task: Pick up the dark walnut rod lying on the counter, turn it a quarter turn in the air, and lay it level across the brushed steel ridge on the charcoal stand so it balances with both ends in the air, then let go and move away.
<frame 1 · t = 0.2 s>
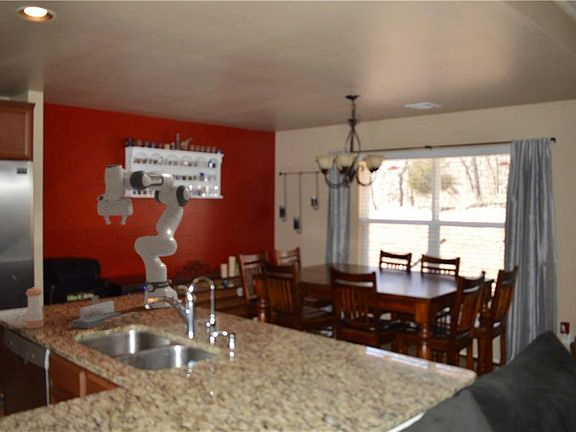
hand: (115, 224, 277), 47 cm above the countertop, tool pointing down, fingers open, 8 cm apart
flask: (95, 315, 287), on the countertop
pepper shaker: (35, 327, 264), on the countertop
ridge stand: (97, 322, 269), on the countertop
walnut rod: (121, 324, 266), on the countertop
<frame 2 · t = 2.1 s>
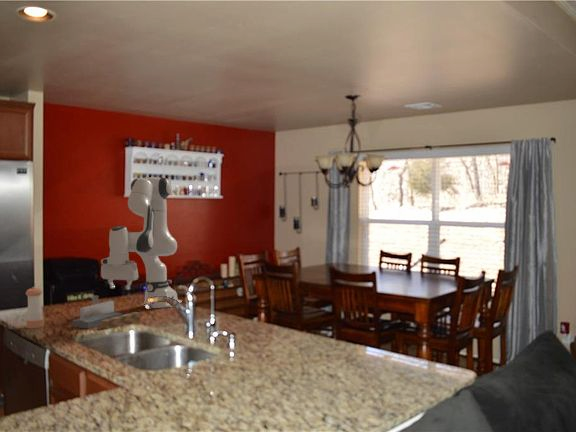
hand: (120, 288, 265), 17 cm above the countertop, tool pointing down, fingers open, 8 cm apart
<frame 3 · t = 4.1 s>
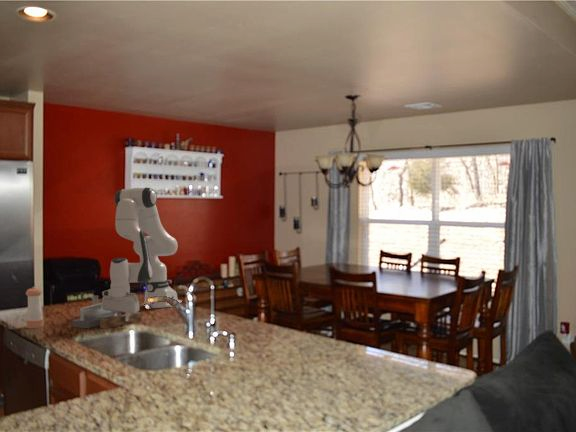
hand: (121, 320, 266), 2 cm above the countertop, tool pointing down, fingers closed on walnut rod, 5 cm apart
walnut rod: (121, 324, 266), on the countertop, touching gripper
everything else where it was.
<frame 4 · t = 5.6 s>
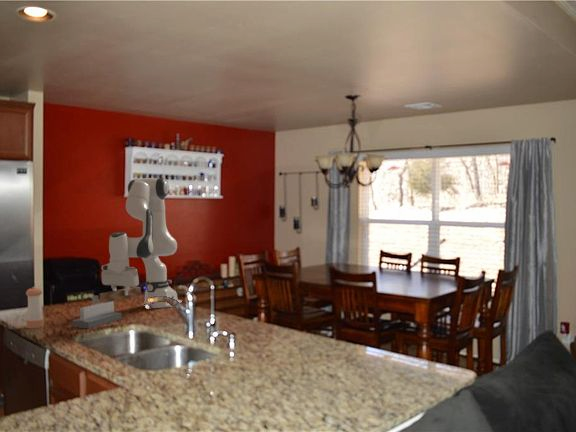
hand: (120, 294, 265), 14 cm above the countertop, tool pointing down, fingers closed on walnut rod, 5 cm apart
walnut rod: (121, 298, 266), point 12 cm above the countertop, touching gripper
everything else where it was.
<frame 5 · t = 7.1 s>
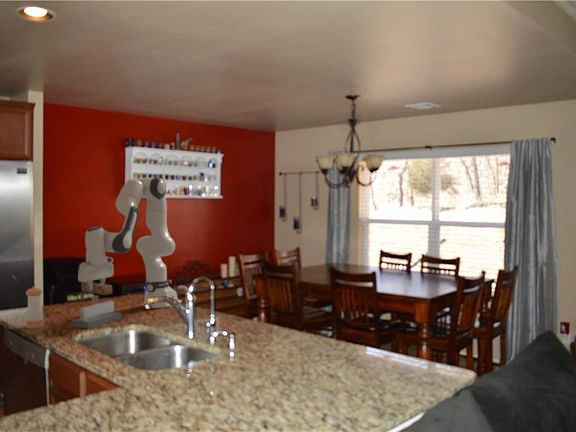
hand: (96, 288, 269), 17 cm above the countertop, tool pointing down, fingers closed on walnut rod, 4 cm apart
walnut rod: (96, 292, 269), point 15 cm above the countertop, touching gripper
everything else where it was.
when the fingers open (12 cm above the countertop, at t = 9.3 s): walnut rod stays where it is, resting on ridge stand.
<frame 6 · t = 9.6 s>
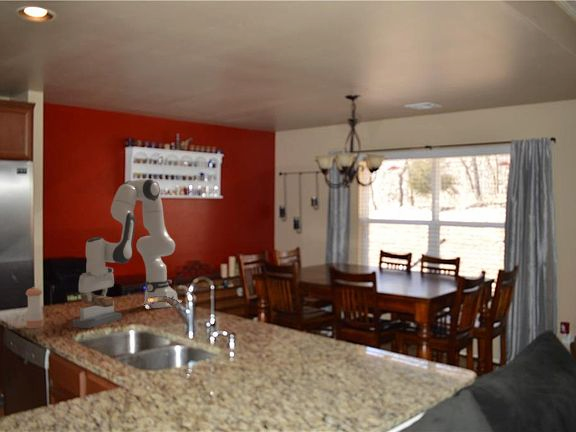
hand: (97, 299, 269), 12 cm above the countertop, tool pointing down, fingers open, 7 cm apart
walnut rod: (97, 304, 269), point 9 cm above the countertop, touching ridge stand
everything else where it was.
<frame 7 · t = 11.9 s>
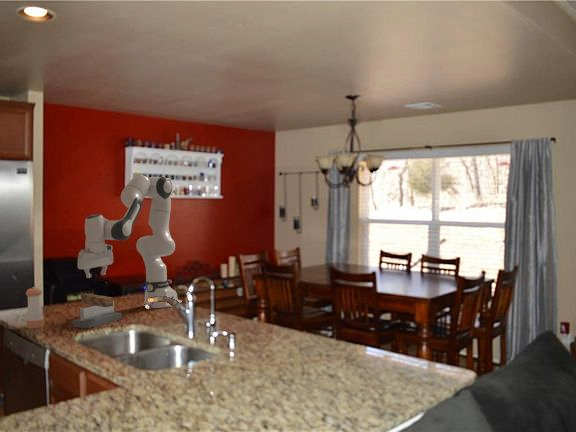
hand: (96, 276, 269), 23 cm above the countertop, tool pointing down, fingers open, 8 cm apart
nothing on the countertop moved.
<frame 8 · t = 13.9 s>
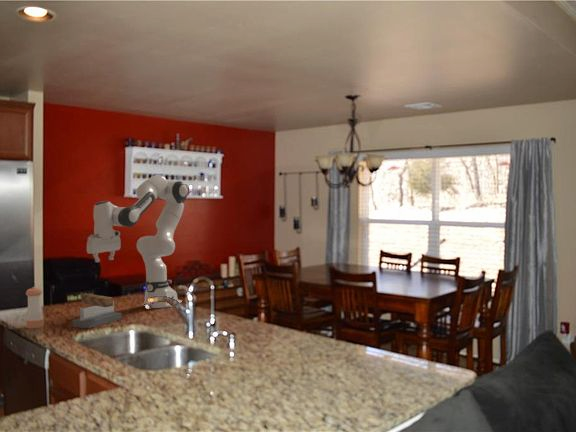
hand: (104, 260, 278), 29 cm above the countertop, tool pointing down, fingers open, 8 cm apart
nothing on the countertop moved.
at the end: walnut rod 0.1 cm off-centre on the ridge stand, point 9.0 cm above the ridge stand's base; walnut rod tilted 0°; the gripper is holding nothing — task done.
